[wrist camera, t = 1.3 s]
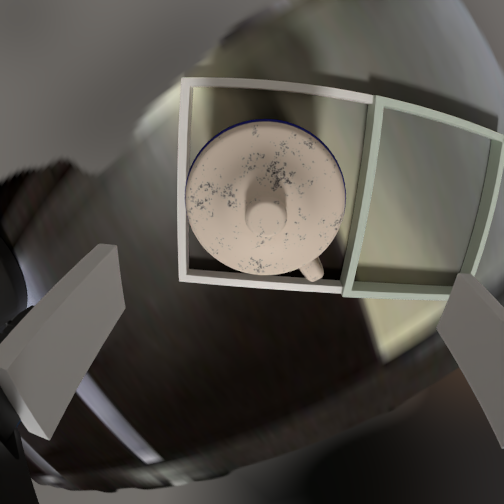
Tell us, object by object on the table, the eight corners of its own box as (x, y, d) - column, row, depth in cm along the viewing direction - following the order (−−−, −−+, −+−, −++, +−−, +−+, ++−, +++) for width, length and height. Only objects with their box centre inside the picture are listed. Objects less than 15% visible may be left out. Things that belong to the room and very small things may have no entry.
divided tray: (182, 274, 29) (177, 284, 28) (185, 79, 22) (179, 76, 20) (457, 292, 29) (465, 300, 28) (496, 134, 22) (507, 136, 20)
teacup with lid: (187, 156, 25) (133, 190, 14) (284, 97, 23) (302, 82, 12) (263, 270, 29) (263, 360, 18) (353, 221, 27) (404, 292, 16)
